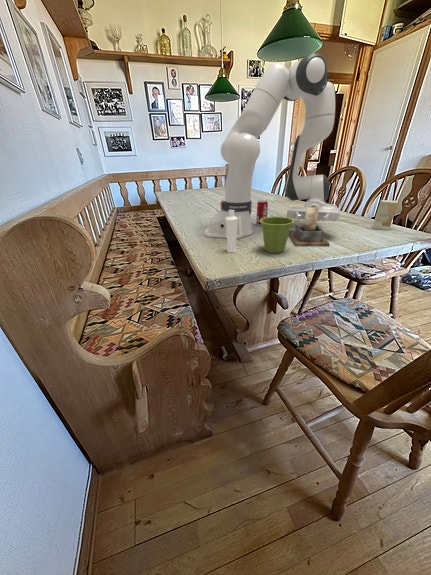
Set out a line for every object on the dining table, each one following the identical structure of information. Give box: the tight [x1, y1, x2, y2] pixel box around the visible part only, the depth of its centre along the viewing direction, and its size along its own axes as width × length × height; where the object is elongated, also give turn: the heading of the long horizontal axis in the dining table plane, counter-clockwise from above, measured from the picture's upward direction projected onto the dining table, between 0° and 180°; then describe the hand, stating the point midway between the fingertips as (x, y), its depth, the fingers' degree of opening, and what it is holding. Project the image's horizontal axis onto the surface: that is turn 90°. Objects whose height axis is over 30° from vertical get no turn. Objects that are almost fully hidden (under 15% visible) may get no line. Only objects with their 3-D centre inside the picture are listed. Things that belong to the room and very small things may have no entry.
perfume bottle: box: [225, 210, 238, 253], centre depth 90 cm, size 5×4×15 cm
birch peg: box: [303, 207, 319, 231], centre depth 98 cm, size 4×4×12 cm
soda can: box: [255, 199, 269, 227], centre depth 122 cm, size 5×5×12 cm
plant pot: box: [260, 216, 295, 254], centre depth 90 cm, size 12×12×11 cm
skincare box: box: [372, 199, 399, 231], centre depth 111 cm, size 6×4×12 cm
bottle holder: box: [288, 225, 330, 247], centre depth 100 cm, size 13×13×5 cm
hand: (311, 218), depth 96 cm, fingers open, 8 cm apart
